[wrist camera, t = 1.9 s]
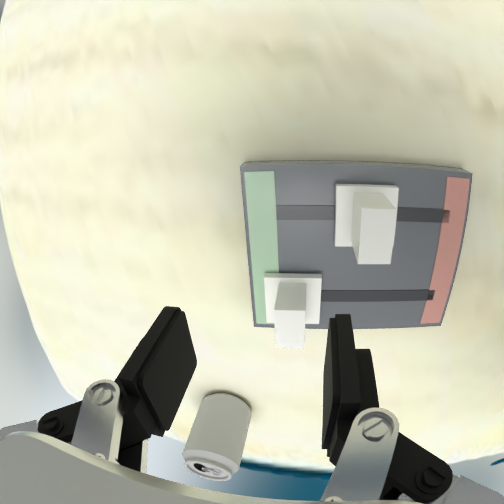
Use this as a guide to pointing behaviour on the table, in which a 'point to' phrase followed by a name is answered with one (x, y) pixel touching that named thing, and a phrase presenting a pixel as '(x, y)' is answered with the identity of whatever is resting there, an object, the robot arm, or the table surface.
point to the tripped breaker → (366, 220)
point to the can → (217, 437)
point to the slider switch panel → (343, 258)
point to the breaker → (292, 306)
